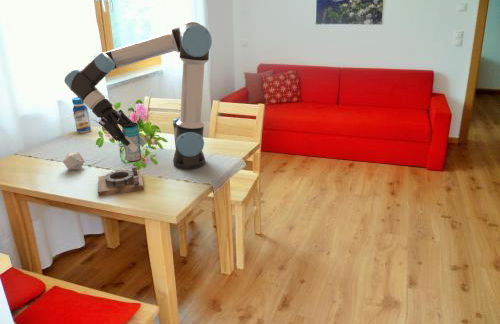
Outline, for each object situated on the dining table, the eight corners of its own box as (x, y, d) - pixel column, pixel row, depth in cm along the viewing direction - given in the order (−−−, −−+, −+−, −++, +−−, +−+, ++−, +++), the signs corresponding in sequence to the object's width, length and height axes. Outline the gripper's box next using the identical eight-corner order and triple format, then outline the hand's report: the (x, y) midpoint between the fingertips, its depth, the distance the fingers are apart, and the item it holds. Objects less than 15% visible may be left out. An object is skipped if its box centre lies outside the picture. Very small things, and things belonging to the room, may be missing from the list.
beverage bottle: (94, 128, 252) (88, 96, 244) (86, 133, 244) (80, 100, 236) (81, 128, 253) (75, 96, 245) (73, 132, 246) (67, 99, 238)
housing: (141, 174, 187) (139, 164, 185) (143, 189, 173) (142, 178, 171) (99, 180, 183) (97, 170, 181) (98, 196, 168) (96, 185, 166)
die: (73, 175, 190) (83, 157, 190) (56, 166, 190) (67, 147, 190) (80, 174, 198) (90, 156, 198) (64, 165, 198) (74, 147, 198)
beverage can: (143, 157, 170) (140, 122, 164) (137, 163, 165) (132, 127, 159) (130, 156, 171) (126, 121, 165) (123, 162, 166) (118, 126, 160)
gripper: (107, 104, 173) (146, 144, 175) (78, 117, 156) (122, 161, 158) (117, 92, 169) (157, 134, 171) (88, 104, 152) (132, 149, 155)
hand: (140, 147), depth 165 cm, fingers closed on beverage can, 6 cm apart
